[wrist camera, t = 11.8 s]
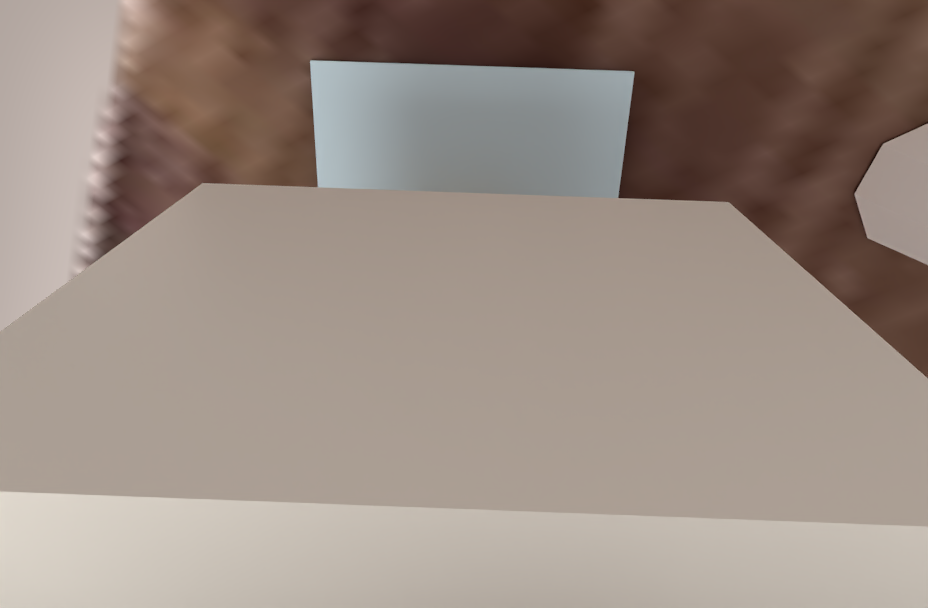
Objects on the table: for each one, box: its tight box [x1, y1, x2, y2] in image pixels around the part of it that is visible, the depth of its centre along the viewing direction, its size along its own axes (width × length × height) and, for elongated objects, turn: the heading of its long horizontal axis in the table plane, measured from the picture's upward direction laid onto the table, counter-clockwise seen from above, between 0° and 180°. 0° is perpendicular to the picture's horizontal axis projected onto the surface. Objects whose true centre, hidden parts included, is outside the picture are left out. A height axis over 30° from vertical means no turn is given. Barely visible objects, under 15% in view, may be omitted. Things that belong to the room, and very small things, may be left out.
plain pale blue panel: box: [310, 60, 635, 198], centre depth 28 cm, size 12×12×1 cm
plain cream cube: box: [0, 183, 928, 608], centre depth 11 cm, size 10×10×9 cm
